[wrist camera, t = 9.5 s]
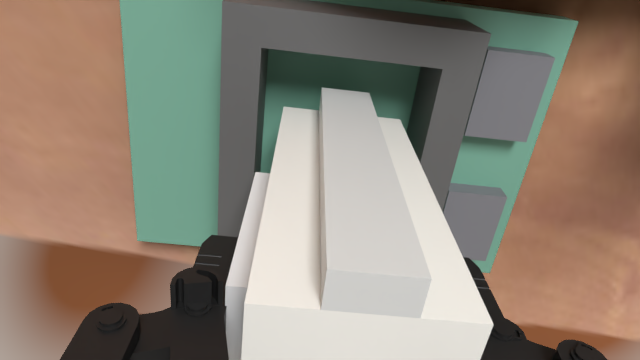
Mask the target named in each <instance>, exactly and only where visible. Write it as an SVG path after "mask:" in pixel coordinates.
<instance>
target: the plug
mask: <svg viewBox="0 0 640 360" xmlns="http://www.w3.org/2000/svg"><path fill="white" fill-rule="evenodd" d="M493 325H494V324H493V322H492V320H491V318H490V315H489V313H488V311H487V309H486V307H485V304H484V302H483V300H482V298H481V296H480V293H479V291H478V289H477V287H476V285H475V282H474V280H473V278H472V276H471V274H470V272H469V269H468V267H467V265H466V263H465V261H464V258H463V256H462V254H461V252H460V250H459V247H458V245H457V243H456V241H455V239H454V236H453V234H452V232H451V230H450V228H449V226H448V223H447V221H446V219H445V217H444V215H443V212H442V210H441V208H440V206H439V204H438V201H437V199H436V197H435V195H434V193H433V190H432V188H431V186H430V184H429V182H428V179H427V177H426V175H425V173H424V171H423V169H422V166H421V164H420V162H419V160H418V158H417V155H416V153H415V151H414V149H413V147H412V144H411V142H410V140H409V138H408V136H407V133H406V131H405V129H404V127H403V125H402V122H401V120H400V119H393V118H384V117H377V114H376V111H375V108H374V105H373V102H372V99H371V96H370V93H366V92H358V91H349V90H340V89H331V88H322V89H321V97H320V106H319V110H311V109H302V108H293V107H283V112H282V117H281V122H280V127H279V132H278V137H277V142H276V147H275V152H274V157H273V162H272V167H271V172H270V177H269V182H268V187H267V192H266V197H265V202H264V207H263V212H262V217H261V222H260V227H259V232H258V237H257V242H256V247H255V252H254V257H253V262H252V267H251V272H250V277H249V282H248V287H247V292H246V297H245V302H244V318H243V336H242V354H241V360H480V359H481V356H482V354H483V351H484V349H485V346H486V343H487V341H488V338H489V336H490V333H491V330H492V328H493Z"/></svg>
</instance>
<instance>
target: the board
mask: <svg viewBox="0 0 640 360" xmlns="http://www.w3.org/2000/svg"><path fill="white" fill-rule="evenodd" d="M120 12H121V26H122V39H123V53H124V66H125V80H126V93H127V106H128V120H129V133H130V147H131V160H132V174H133V187H134V201H135V214H136V227H137V241H146V242H157V243H168V244H179V245H190V246H200V247H201V245H202V243H203V242H204V241H205V240H206V239H208V238H209V237H210V236H211V235H220V236H231V237H239V233H240V229H241V225H242V221H243V218H244V214H245V210H246V206H247V203H248V199H249V195H250V191H251V187H252V184H253V180H254V176H255V172H261V173H270V172H271V167H272V162H273V157H274V152H275V147H276V142H277V137H278V132H279V127H280V122H281V117H282V112H283V107H293V108H302V109H311V110H319V106H320V97H321V89H322V88H331V89H340V90H349V91H358V92H366V93H370V96H371V99H372V102H373V105H374V108H375V111H376V114H377V117H384V118H393V119H400V120H401V122H402V125H403V127H404V129H405V131H406V133H407V136H408V138H409V140H410V142H411V144H412V147H413V149H414V151H415V153H416V155H417V158H418V160H419V162H420V164H421V166H422V169H423V171H424V173H425V175H426V177H427V179H428V182H429V184H430V186H431V188H432V190H433V193H434V195H435V197H436V199H437V201H438V204H439V206H440V208H441V210H442V212H443V215H444V217H445V219H446V221H447V223H448V226H449V228H450V230H451V232H452V234H453V236H454V239H455V241H456V243H457V245H458V247H459V250H460V252H461V254H462V256H463V257H467V258H470V259H471V260H472V261H473V262H474V263H475V264H476V265H477V266H478V267H479V268H480V270H481V272H484V273H490V271H491V268H492V265H493V262H494V259H495V256H496V254H497V251H498V248H499V245H500V242H501V239H502V237H503V234H504V231H505V228H506V225H507V223H508V220H509V217H510V214H511V211H512V208H513V206H514V203H515V200H516V197H517V194H518V191H519V189H520V186H521V183H522V180H523V177H524V174H525V172H526V169H527V166H528V163H529V160H530V157H531V155H532V152H533V149H534V146H535V143H536V140H537V138H538V135H539V132H540V129H541V126H542V124H543V121H544V118H545V115H546V112H547V109H548V107H549V104H550V101H551V98H552V95H553V92H554V90H555V87H556V84H557V81H558V78H559V75H560V73H561V70H562V67H563V64H564V61H565V58H566V56H567V53H568V50H569V47H570V44H571V42H572V39H573V36H574V33H575V30H576V27H577V25H578V22H579V21H576V20H573V19H570V18H567V17H563V16H556V15H548V14H540V13H532V12H524V11H516V10H508V9H500V8H493V7H485V6H477V5H469V4H461V3H453V2H445V1H437V0H120Z"/></svg>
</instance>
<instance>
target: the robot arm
mask: <svg viewBox="0 0 640 360" xmlns="http://www.w3.org/2000/svg"><path fill="white" fill-rule="evenodd" d="M269 177H270V173H261V172H255V176H254V180H253V184H252V187H251V191H250V195H249V199H248V203H247V206H246V210H245V214H244V218H243V221H242V225H241V229H240V233H239V237H231V236H220V235H211V236H210V237H209V238H208V239H206V240H205V241H204V242H203V243H202V245H201V247H200V250H199V253H198V256H197V258H196V261H195V264H194V266H193V268H188V269H185V270H183V271H181V272H179V273H177V274H176V275H175V276H174V277H173V279H172V281H171V284H170V288H171V289H170V290H171V307H170V308H167V309H165V310H163V311H159V312H155V313H149V314H142V315H139V314H138V312H137V310H136V309H135V308H134V307H132V306H131V305H128V304H123V303H111V304H107V305H103V306H100V307H98V308H96V309H95V310H93V311H91V312H90V313H89V314H88V315H87V316H86V317H85V319H84V320H83V322H82V323H81V325H80V327H79V328H78V330H77V332H76V334H75V335H74V337H73V338H72V341H71V342H70V344H69V345H68V347H67V349H66V350H65V352H64V354H63V355H62V357H61V359H60V360H241V354H242V336H243V318H244V302H245V297H246V292H247V287H248V282H249V277H250V272H251V267H252V262H253V257H254V252H255V247H256V242H257V237H258V232H259V227H260V222H261V217H262V212H263V207H264V202H265V197H266V192H267V187H268V182H269ZM463 258H464V261H465V263H466V265H467V267H468V269H469V272H470V274H471V276H472V278H473V280H474V282H475V285H476V287H477V289H478V291H479V293H480V296H481V298H482V300H483V302H484V304H485V307H486V309H487V311H488V313H489V315H490V318H491V320H492V322H493V324H494V325H493V328H492V330H491V333H490V336H489V338H488V341H487V343H486V346H485V349H484V351H483V354H482V356H481V359H480V360H607V359H606V358H605V357H604V356H603V354H602V353H600V352H599V351H598V350H596V349H595V348H594V347H592V346H590V345H587V344H585V343H584V342H581V341H576V340H564V341H562V342H561V343H559V345H558V347H557V349H556V350H555V349H551V348H549V347H545V346H542V345H539V344H536V343H534V342H531V341H529V340H527V339H526V337H525V335H524V332H523V331H522V330H521V329H520V328H519V327H518V326H517V325H516V324H514V323H513V322H511V321H510V320H508V319H505V318H504V317H503V314H502V312H501V310H500V308H499V306H498V304H497V302H496V300H495V298H494V296H493V294H492V292H491V290H490V289H489V286H488V284H487V282H486V281H485V278H484V276H483V274H482V272H481V270H480V268H479V267H478V266H477V265H476V264H475V263H474V262H473V261H472V260H471V259H470V258H467V257H463Z"/></svg>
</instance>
